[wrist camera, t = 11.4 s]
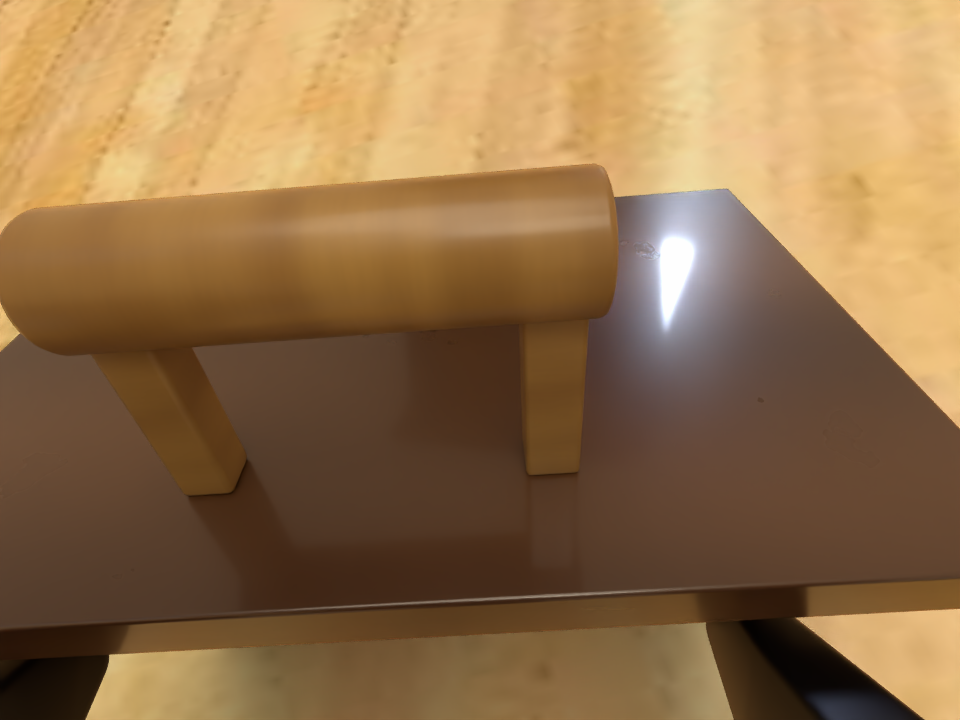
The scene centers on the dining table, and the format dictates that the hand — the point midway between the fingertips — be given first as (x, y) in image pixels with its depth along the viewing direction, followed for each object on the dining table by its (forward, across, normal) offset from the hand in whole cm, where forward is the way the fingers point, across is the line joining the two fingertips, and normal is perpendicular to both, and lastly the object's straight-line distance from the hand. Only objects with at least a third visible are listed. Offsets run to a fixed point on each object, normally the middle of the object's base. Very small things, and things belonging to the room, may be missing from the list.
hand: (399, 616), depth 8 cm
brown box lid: (+4, 0, -2) cm, 4 cm away
